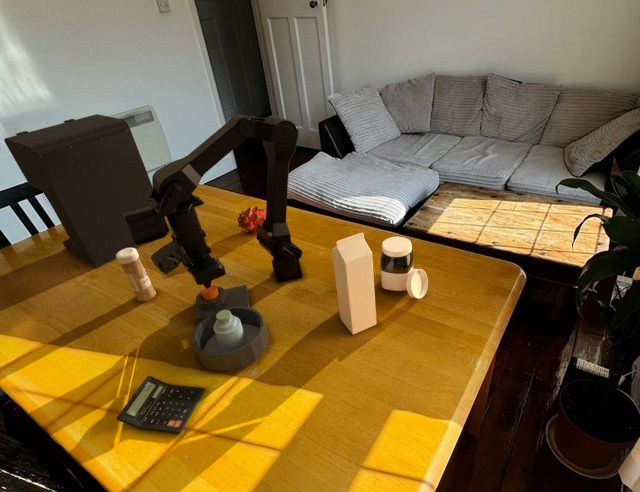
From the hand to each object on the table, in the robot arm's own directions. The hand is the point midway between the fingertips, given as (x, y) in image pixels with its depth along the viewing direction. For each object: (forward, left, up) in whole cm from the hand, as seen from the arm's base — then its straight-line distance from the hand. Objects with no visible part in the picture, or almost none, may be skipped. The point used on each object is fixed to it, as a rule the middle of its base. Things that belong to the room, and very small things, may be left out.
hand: (207, 287), depth 95 cm
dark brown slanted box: (+28, -47, -6) cm, 55 cm away
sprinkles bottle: (+17, -11, -6) cm, 21 cm away
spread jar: (-45, +9, -6) cm, 46 cm away
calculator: (+9, +27, -6) cm, 29 cm away
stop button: (0, 0, -3) cm, 3 cm away
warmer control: (-2, +1, -6) cm, 7 cm away
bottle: (-4, +15, -6) cm, 17 cm away
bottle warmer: (-4, +15, -6) cm, 17 cm away
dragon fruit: (-13, -35, -6) cm, 38 cm away
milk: (-31, +17, -6) cm, 36 cm away
